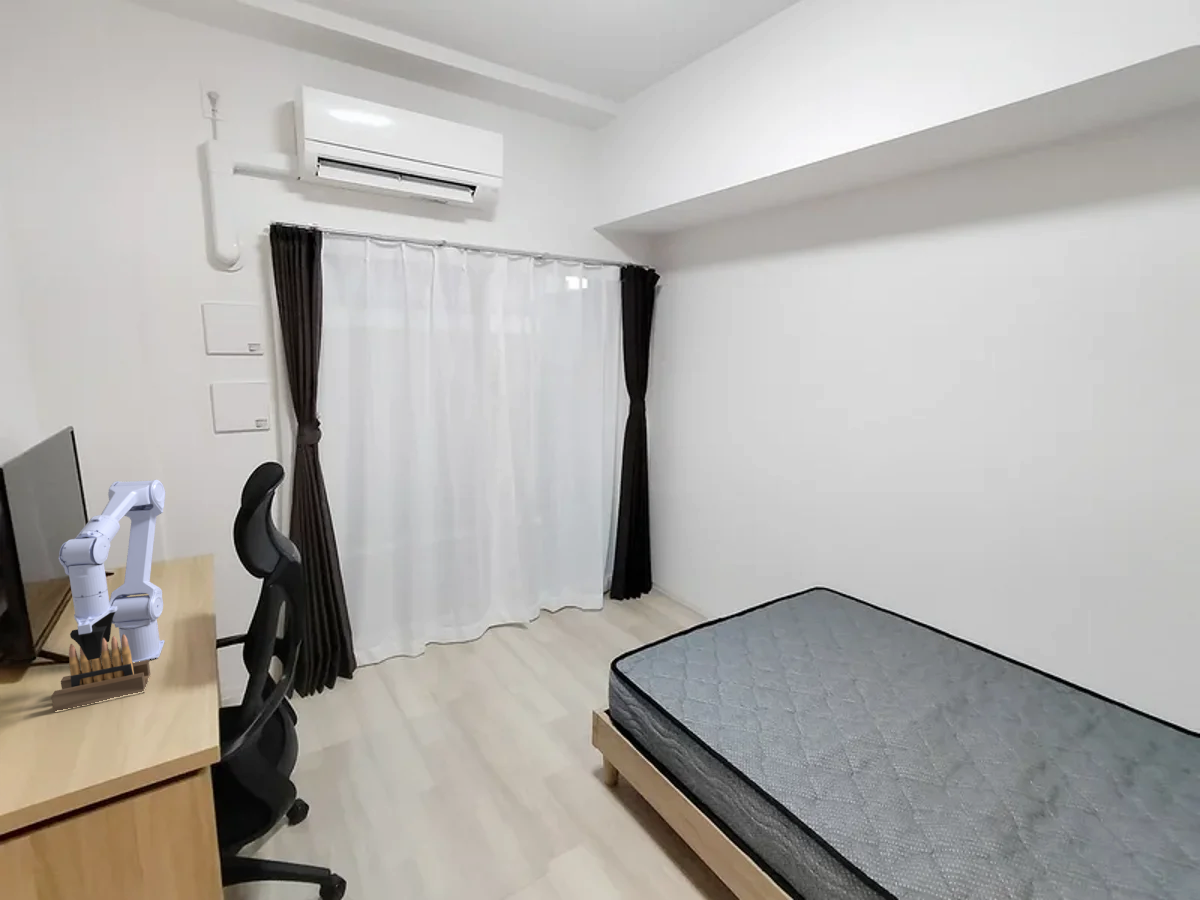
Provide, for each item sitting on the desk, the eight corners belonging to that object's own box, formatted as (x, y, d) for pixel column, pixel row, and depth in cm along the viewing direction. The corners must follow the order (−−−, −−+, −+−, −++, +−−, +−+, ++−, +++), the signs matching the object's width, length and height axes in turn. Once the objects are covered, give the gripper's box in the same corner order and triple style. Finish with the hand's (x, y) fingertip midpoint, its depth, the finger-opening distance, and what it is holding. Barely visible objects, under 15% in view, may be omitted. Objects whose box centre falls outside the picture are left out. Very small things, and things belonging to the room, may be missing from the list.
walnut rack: (66, 693, 127) (63, 676, 126) (150, 675, 134) (148, 659, 134) (54, 713, 120) (51, 695, 119) (144, 693, 127) (141, 676, 127)
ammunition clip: (136, 680, 130) (129, 631, 128) (134, 684, 129) (128, 635, 127) (74, 693, 125) (66, 643, 123) (72, 698, 124) (64, 646, 122)
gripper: (105, 601, 119) (114, 661, 121) (121, 576, 131) (129, 631, 134) (60, 608, 115) (70, 669, 118) (81, 582, 128) (89, 638, 130)
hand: (98, 650), depth 125 cm, fingers open, 7 cm apart
